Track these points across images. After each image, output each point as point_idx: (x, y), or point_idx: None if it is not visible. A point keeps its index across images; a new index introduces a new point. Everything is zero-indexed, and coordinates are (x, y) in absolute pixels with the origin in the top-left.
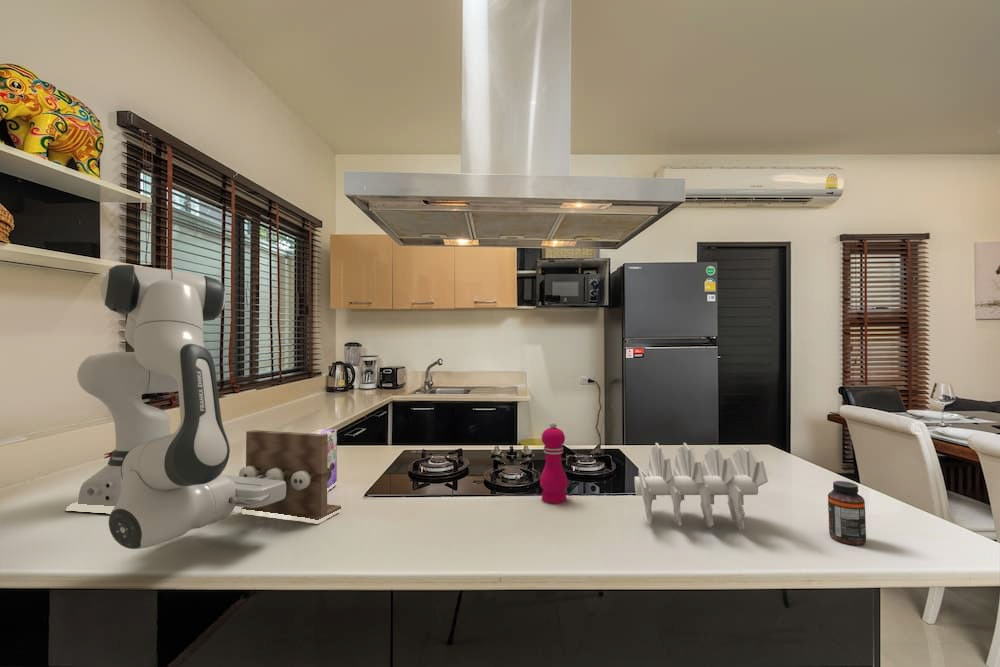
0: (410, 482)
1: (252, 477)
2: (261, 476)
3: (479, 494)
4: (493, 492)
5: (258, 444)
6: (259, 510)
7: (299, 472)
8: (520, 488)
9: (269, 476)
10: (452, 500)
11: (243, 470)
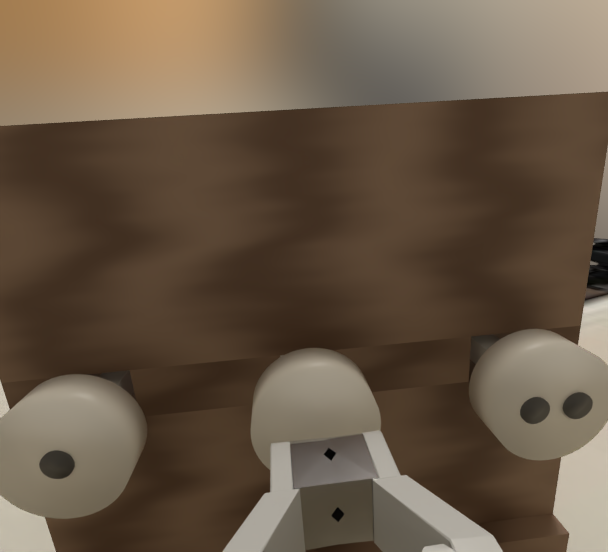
0: None
1: (253, 523)
2: (303, 465)
3: (589, 296)
4: (594, 287)
5: (73, 219)
6: None
7: (574, 350)
8: (602, 273)
9: (372, 442)
10: (594, 318)
11: (23, 431)
